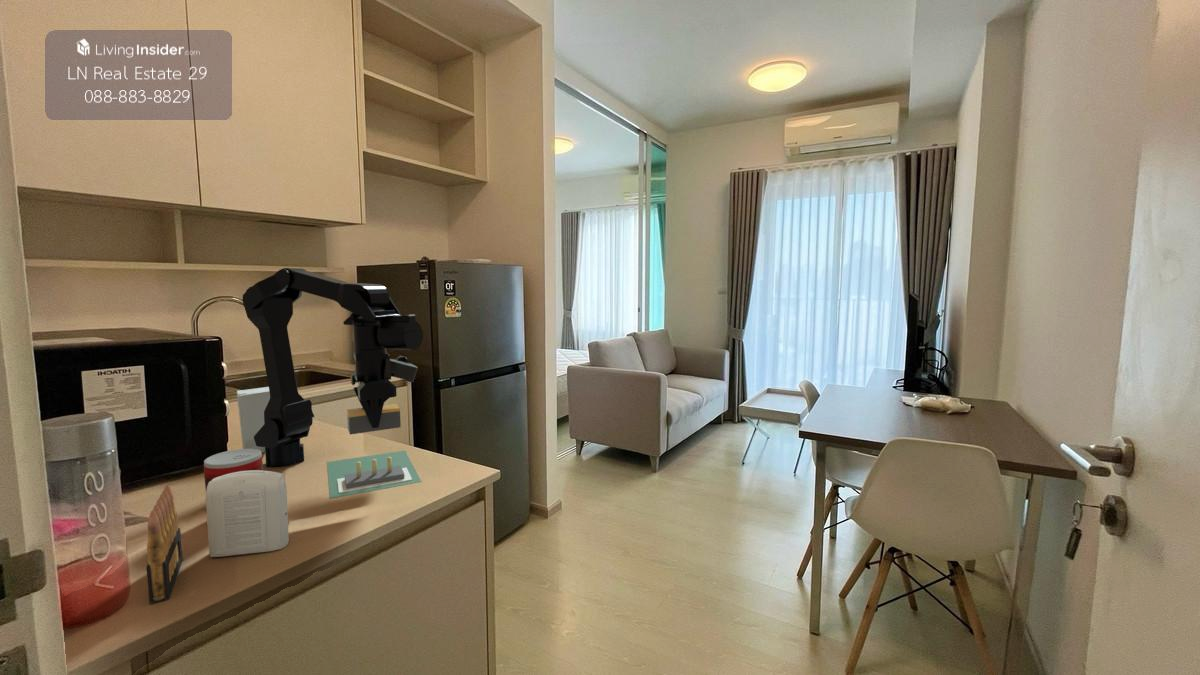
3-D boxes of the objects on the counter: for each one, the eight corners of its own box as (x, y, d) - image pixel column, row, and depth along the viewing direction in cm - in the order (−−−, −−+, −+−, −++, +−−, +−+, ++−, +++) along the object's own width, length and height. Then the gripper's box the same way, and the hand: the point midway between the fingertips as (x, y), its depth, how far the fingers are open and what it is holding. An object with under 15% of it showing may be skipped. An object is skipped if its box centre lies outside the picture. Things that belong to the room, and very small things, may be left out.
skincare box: (281, 443, 121) (278, 384, 119) (285, 449, 116) (281, 389, 114) (240, 449, 115) (236, 389, 114) (241, 457, 111) (237, 394, 109)
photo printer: (293, 537, 78) (289, 463, 76) (284, 551, 74) (280, 474, 72) (217, 546, 75) (212, 469, 73) (204, 561, 71) (197, 480, 69)
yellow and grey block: (349, 434, 93) (348, 414, 92) (348, 429, 96) (346, 409, 96) (400, 427, 98) (399, 408, 97) (397, 422, 101) (396, 403, 101)
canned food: (275, 510, 86) (272, 451, 85) (228, 532, 79) (224, 467, 78) (245, 503, 89) (241, 445, 88) (197, 523, 81) (192, 460, 80)
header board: (330, 506, 88) (329, 476, 88) (327, 468, 105) (326, 443, 105) (421, 488, 97) (421, 461, 96) (405, 456, 114) (404, 433, 113)
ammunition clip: (166, 562, 70) (159, 484, 69) (183, 559, 71) (176, 481, 70) (149, 605, 61) (140, 515, 60) (168, 600, 62) (160, 512, 61)
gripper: (423, 351, 92) (426, 430, 93) (404, 340, 107) (407, 409, 109) (358, 355, 86) (362, 440, 87) (348, 343, 101) (352, 416, 103)
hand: (374, 424), depth 97 cm, fingers closed on yellow and grey block, 4 cm apart
